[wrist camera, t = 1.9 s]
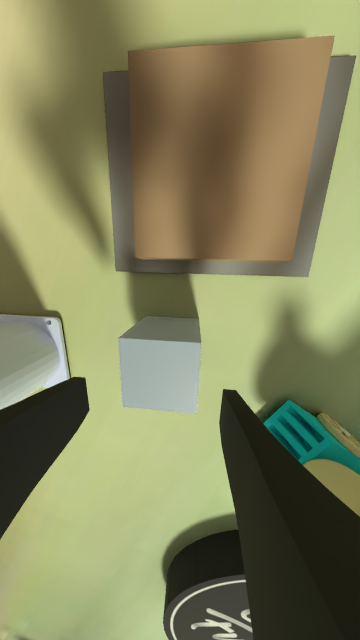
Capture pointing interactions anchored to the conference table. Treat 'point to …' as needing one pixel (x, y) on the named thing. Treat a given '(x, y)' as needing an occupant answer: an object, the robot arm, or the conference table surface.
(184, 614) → the wall sign
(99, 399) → the conference table surface
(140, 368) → the block
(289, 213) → the base block
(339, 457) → the toy train
